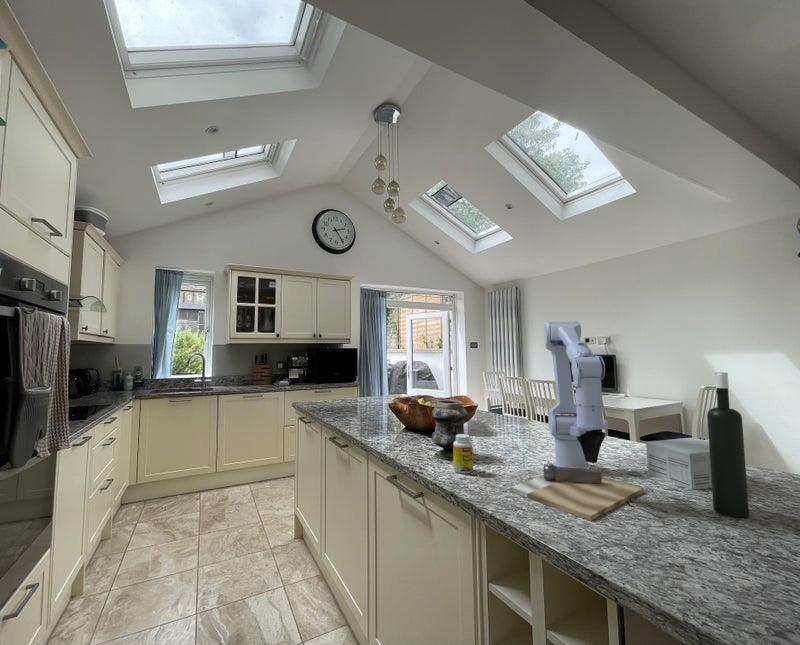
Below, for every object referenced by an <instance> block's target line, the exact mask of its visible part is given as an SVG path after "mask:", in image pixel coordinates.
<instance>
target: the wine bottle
mask: <svg viewBox="0 0 800 645" xmlns="http://www.w3.org/2000/svg"><path fill="white" fill-rule="evenodd" d="M714 378H715V380H714V381H715V388H716V401H717V407H713V408H710V409H709V410H708V411H707V414H706V416H707V419H706V420H707V433H708V435H707V436H708V441H709V450H710V465H711V480H712V487H711V492H712V493H711V494H712V495H711V496H712V509H713V511H714V512H716V513H717V514H719V515H722V516H725V517H729V518H733V519H743V520H744V519H748V518H750V509H749V507H750V506H749V495H748V481H747V479H748V478H747V469H746V468H747V467H746V456H745V441H744V429H743V428H744V424H743V416H742V414H741V413H740V412H739V411H738V410H736V409H733V408H730V396H729V395H730V393H729V389H730V388H729V374H728V372H723V371H722V372H721V371H717V372H714Z"/></svg>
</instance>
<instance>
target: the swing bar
mask: <svg viewBox="0 0 800 645" xmlns="http://www.w3.org/2000/svg"><path fill="white" fill-rule="evenodd" d="M553 464H554V463H552V462H547V463H546V464H543V476H544V479H546V480H550V481H570V482H584V483H598V484H602V477H603V476H602V472H601V470H600V469H598V468H589V469H584V468H568V467H557V466H555V465H553Z"/></svg>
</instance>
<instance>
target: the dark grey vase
mask: <svg viewBox="0 0 800 645" xmlns="http://www.w3.org/2000/svg"><path fill="white" fill-rule="evenodd" d="M431 415H432V417H433V418H434V419H435V428H434V429H435V430H434V432H433V433H432V434H431V441H432V443H433V444H434V445H435V446H438V447H439V448H441V449H440V450H438V451H436V452H435V453H434V457H436V458H439V459H441V460H442V459H443V460H453V443H454V442H455V441H456V435H458V434H466V433H465V430H464V428H465V427H464V423H465V422H464V421H465V419H466V418H467V416H468V411H467V410H466V408H464V406H463V402H462V400H461V401H460V400H456V399H439V400H437V401H436V405H435V407H433V409H432V411H431ZM453 461H454V460H453Z"/></svg>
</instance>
